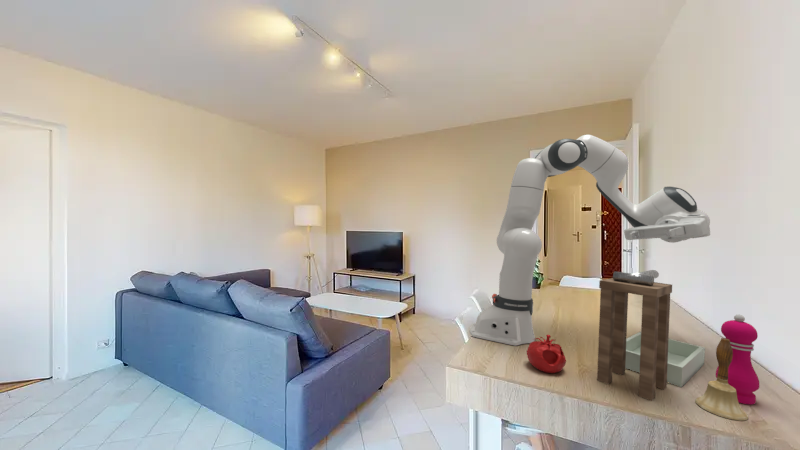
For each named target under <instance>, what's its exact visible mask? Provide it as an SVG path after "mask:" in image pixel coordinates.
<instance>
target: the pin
mask: <svg viewBox="0 0 800 450" xmlns="http://www.w3.org/2000/svg"><path fill="white" fill-rule="evenodd" d="M659 275H660V273H659V272H658V271H657V270H654V269H650V270H644V271H640V272H639V271H638V272H634V273H630V272H622V271H613V274H612V278H613V280H614V281H621V282H627V283H631V284H641V285H648V286H653V284H654V282H655V279H657V278H659Z"/></svg>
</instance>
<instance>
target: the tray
mask: <svg viewBox="0 0 800 450" xmlns="http://www.w3.org/2000/svg"><path fill="white" fill-rule="evenodd" d="M640 350H641V331H639V332H637V333H635V334H632V335H630V336H629V337H626V362H625V370H628V369H630V370H629V371H631V370H632V371H631V372H634V371H636V372H635V373H637V372H639V373H638V374H640ZM705 350H706V347H705V346H700V345H697V344H692V343H689V342H685V341H680V340H676V339H673V338H669V340H668V364H667V382H669V383H668V384H670V383H671V385H673V384H674V386H676V385H677V386H676V387H679V388H682V387H684V385H686V384H687V382H688V381H689V380H691V378H692V377H694V375H695V374H696V373H697V372H698V371H699V370H700V369H701V368H702V367H703V366H704V365H705V355H706V354H705V353H706V352H705Z"/></svg>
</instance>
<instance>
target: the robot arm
mask: <svg viewBox="0 0 800 450" xmlns="http://www.w3.org/2000/svg"><path fill="white" fill-rule="evenodd" d="M577 167H580V168H582V169H584V170H585V171H586V172H588V173H589V174H590V175H592V176H593V177H594V178H595V180H596V183H595V186H596V189H597V190H598V191H599V193H600V194H601V195H602V196H603V197H604V199H606V201H608V202H609V203H610V205H612V206H613V207H614V208H615V209H616V210H617V211H618V212H619V213H620V214H621V215H623V217H624V218H625V219H626V221H627V222H628V223H629V225H631V226H632V227H630V228H626V229H624V231H623V233H624V238H625V240H627V241H634V240H635V241H637V240H650V239H661V240H662V241H664V242H666V243H672V244H674V243H679V242H682V241H684V242H685V241H687V240H691V239H697V238H706V237H709V236H711V228H710V224H711V219H710V216H709V215H708V214H707V213H706V212H705V211H703V210H700V209H698V205H697V202H696V200H695V199H694V197H693V196H692V195H691V194H690V193H689V192H687V191H686V190H685V189H683V188H680V187H677V186H676V187H675V186H664V187H663V188H661V189H659V190H657V192H654V193H653V194H652V195H651V196H649V197H648V198H646V199H644V200H643V201H641V202H640V203H634V202H632V201H631V200H630V199H629V198H628V197H627V196H625V195H624V194H623V193H622V192H621V190H620V189H619V186H620V184H621V183H622V181H623V179H624V178H625V175H626V174H627V172H628V170H629V168H628V167H629V159H628V156H627V155H626V154H625V153H624V152H623V151H622V150H621V149H619V148H617V146H614V145H613V144H611V143H610V142H608V141H606V140H604V139H602V138H599V137H597V136H595V135H592V134H583V135H580V136H579V137H578V138H576V139H573V138H562V139H558V140H556V141H555V142H554V143H551V144H549V145H547V146H545V148H543V149H542V150H541V151H540V152H538V153H537V155H535V157H534V158H533V157H527V158H523V159H521V160H520V161H519V162H518V163H517V165H516V168H515V170H514V173H513V177H512V180H511V183H510V189H509V194H508V199H507V205H506V210H505V213H504V217H503V218H502V222H501V225H500V228H499V232H498V234H497V237H496V245H497V249H498V250H499V251H500V253H502V254H503V261H502V265H501V269H500V273H499V280H498V281H499V282H498V283H499V284H498V286H499V287H498V288H499V289H498V294H497V293H493V294H492V295H491V298H492V305H490V306H488V307H487V308H485V309H483V310H481V312H480V313H478V315H477V317H476V321H475V323H473V324H472V325H470V327H469V335H470V336H471V337H473V338H477V339H482V340H487V341H491V342H496V343H500V344H506V345H510V346H520V345H524V344H525V345H526V344H530V343H531V342H535V341H536V336H535V333H534V328H533V327H534V326H533V312H534V298H532V297H533V296H532V295H533V278H534V273H535V272H534V271H535V267H536V264H537V259H538V255H539V254H540V253H541V251H542V248H543V244H542V239H541V237H540V235H538V233H536V232H535V231H533V227H534V224H535V222H536V220H537V218H538V216H539V215H540V212H541V206H542V203H543V196H544V191H545V184H546V181H547V179H548V178H551V177H555V176H558V175H562V174H565V173H567V172H569V171H571V170H574V169H575V168H577Z"/></svg>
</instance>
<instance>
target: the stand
mask: <svg viewBox="0 0 800 450" xmlns="http://www.w3.org/2000/svg"><path fill="white" fill-rule="evenodd" d="M598 282H599V284H598V288H599V289H600V300H599V319H598V320H599V323H598V325H599V326H598V327H599V328H598V347H597V349H598V350H597V351H598V352H597V373H596V376H597V377H596V380H597V381H599V382H601V383H603V384H606V385H609V384H610V383H612V382H613V373H614V372H615V373H614V374H617V373H618V375H620V374H621V376H622V375H624V374H625V373H626V368H625V362H626V339H627V334H628V332H627V331H628V311H629V310H628V309H629V308H628V307H629V304H628V303H629V294H632V295H638V296H642V300H641V301H642V302H641V303H642V304H641V306H642V307H641V309H642V310H641V329H640V332H641V350H640V373H639V375H638V376H639V377H638V379H639V380H638V383H639V384H638V397H640V398H643V399H646V400H648V401H651V402H652V401H654V400H655V399H656V388H657V387H658V388H657V389H660V390H663V391H664V390H666V389H667V387H668V386H667V384H668V383H667V364H668V340H669V339H670V338H669V337H670V332H669V331H670V313H671V312H670V309H671V294H672V293H673V284H670V283H663V282H655V281H654V284H653V286H648V285H641V284H631V283H627V282H621V281H614V280H613V277H611V278H607V279H600V280H599V281H598Z"/></svg>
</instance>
